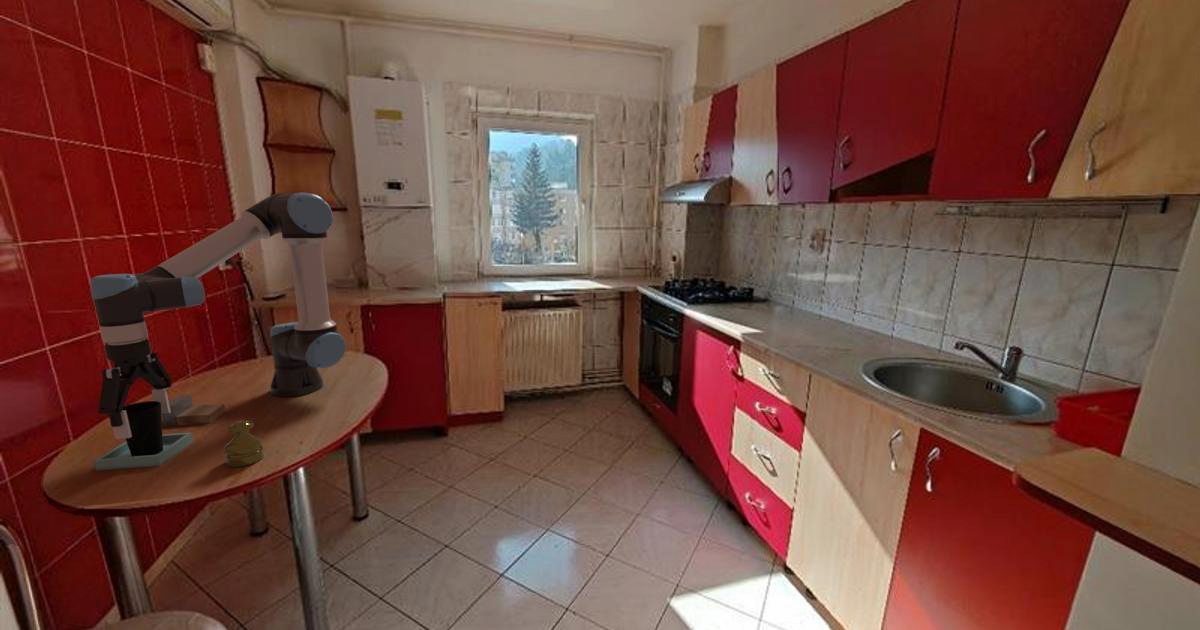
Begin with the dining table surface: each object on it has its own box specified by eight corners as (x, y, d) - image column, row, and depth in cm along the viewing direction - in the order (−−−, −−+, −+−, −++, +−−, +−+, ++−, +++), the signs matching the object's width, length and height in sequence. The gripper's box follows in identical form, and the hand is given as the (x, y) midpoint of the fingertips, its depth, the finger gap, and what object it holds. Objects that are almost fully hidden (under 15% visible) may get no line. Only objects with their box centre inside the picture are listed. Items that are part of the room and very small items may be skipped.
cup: (176, 448, 116) (168, 403, 114) (138, 463, 109) (128, 415, 107) (156, 443, 118) (148, 399, 116) (118, 457, 111) (108, 410, 109)
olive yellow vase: (222, 470, 108) (216, 430, 106) (230, 456, 114) (224, 418, 112) (261, 463, 111) (256, 424, 109) (266, 450, 118) (261, 413, 116)
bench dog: (193, 414, 138) (190, 394, 137) (176, 425, 130) (173, 405, 129) (182, 414, 137) (178, 395, 136) (163, 426, 129) (160, 406, 128)
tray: (193, 441, 121) (192, 432, 121) (160, 465, 109) (158, 456, 109) (136, 445, 118) (134, 436, 118) (95, 471, 106) (93, 461, 106)
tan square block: (225, 413, 140) (224, 403, 139) (210, 424, 132) (208, 414, 132) (194, 415, 138) (193, 405, 137) (177, 426, 130) (175, 416, 130)
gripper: (145, 328, 119) (161, 405, 124) (59, 357, 95) (82, 451, 100) (179, 327, 121) (194, 403, 125) (103, 355, 97) (124, 448, 102)
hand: (144, 424), depth 113 cm, fingers open, 13 cm apart
